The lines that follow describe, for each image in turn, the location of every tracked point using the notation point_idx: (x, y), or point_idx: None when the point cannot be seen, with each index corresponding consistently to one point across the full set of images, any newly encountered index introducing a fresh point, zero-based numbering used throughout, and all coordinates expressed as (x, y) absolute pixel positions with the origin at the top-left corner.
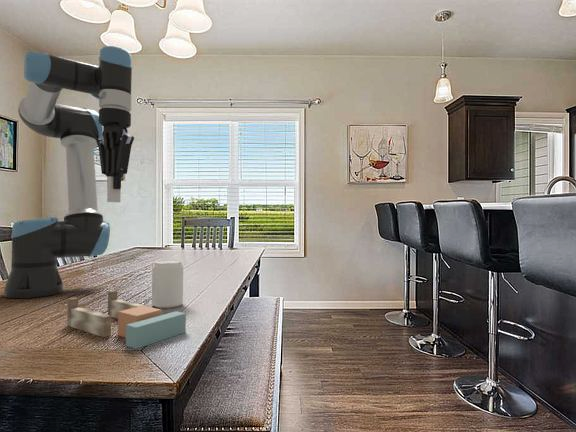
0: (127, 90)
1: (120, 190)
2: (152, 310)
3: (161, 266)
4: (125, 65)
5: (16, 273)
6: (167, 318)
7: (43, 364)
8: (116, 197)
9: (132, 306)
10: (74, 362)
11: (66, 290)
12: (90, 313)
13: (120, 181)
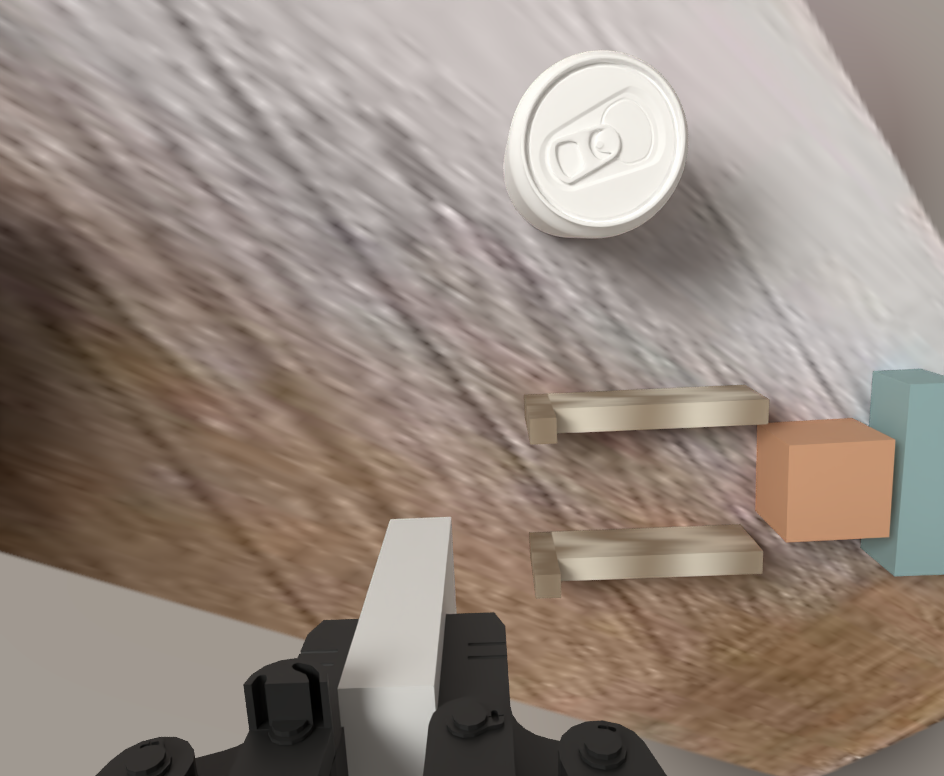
0: None
1: (443, 578)
2: (876, 465)
3: (635, 222)
4: None
5: None
6: None
7: (798, 715)
8: (450, 582)
9: (690, 425)
10: (849, 673)
11: None
12: (678, 575)
13: (506, 680)
